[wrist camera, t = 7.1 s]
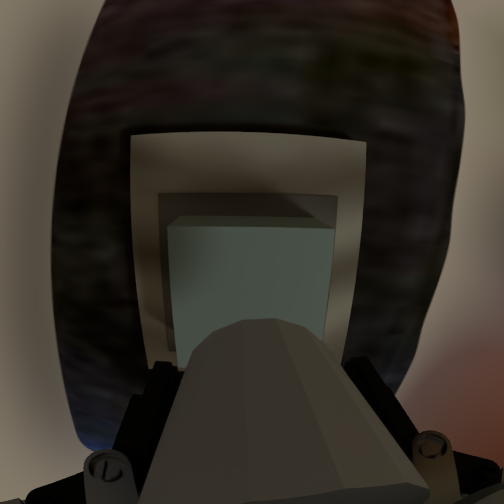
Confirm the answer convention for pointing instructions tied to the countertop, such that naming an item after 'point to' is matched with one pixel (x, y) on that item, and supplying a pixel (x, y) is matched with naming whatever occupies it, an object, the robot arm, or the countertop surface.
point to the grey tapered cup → (275, 428)
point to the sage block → (246, 273)
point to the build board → (241, 209)
